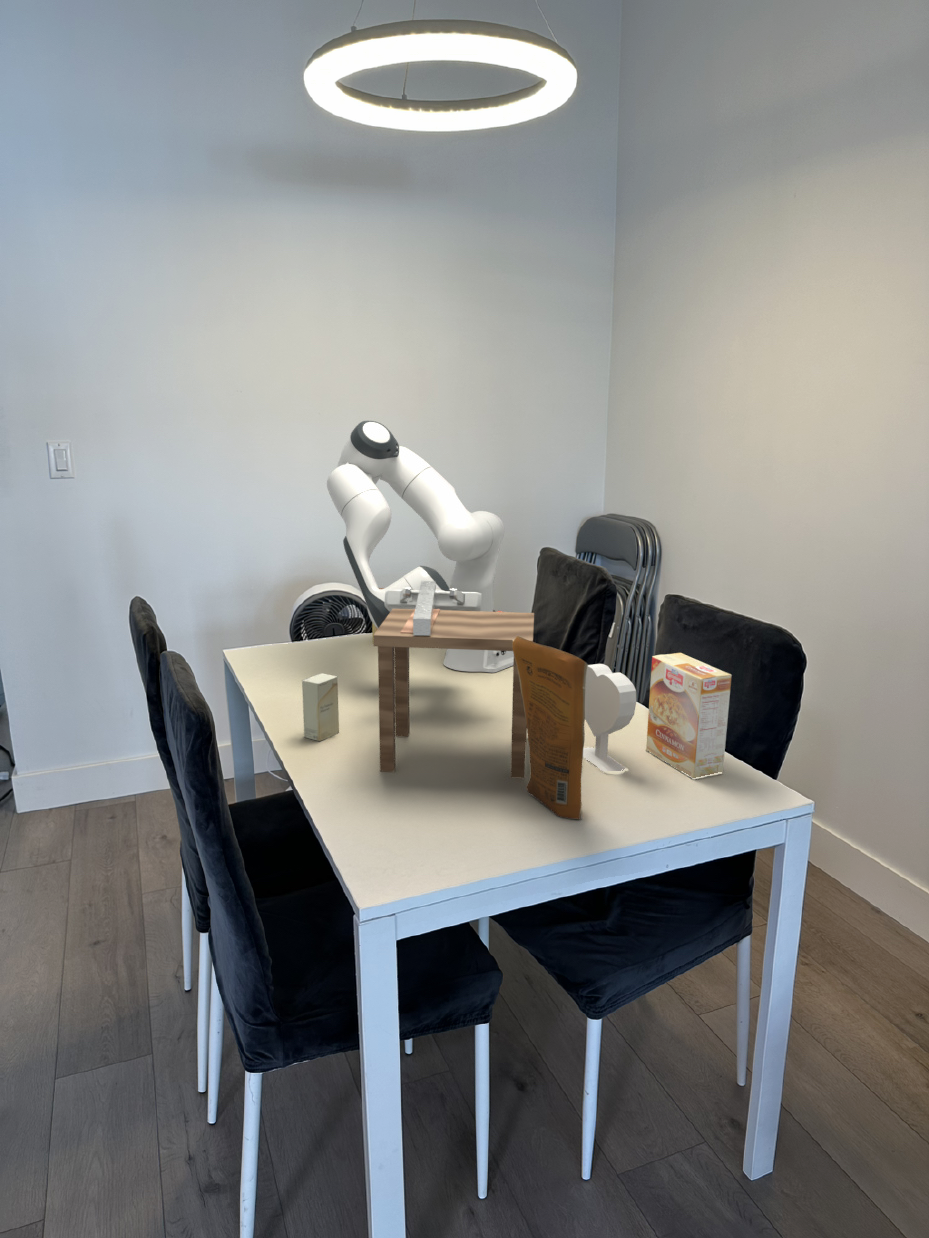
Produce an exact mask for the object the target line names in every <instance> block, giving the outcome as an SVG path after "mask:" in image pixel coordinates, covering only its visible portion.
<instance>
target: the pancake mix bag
mask: <svg viewBox="0 0 929 1238" xmlns="http://www.w3.org/2000/svg"><path fill="white" fill-rule="evenodd" d="M512 648H513V654H514V658H515V661H516V665H517V669H518V675H519V681H520V688H521V694H522V698H523V704H524V711H525V718H526V725H527V741H528V742H527V743H528V748H529V751H528V752H529V753H528V754H529V770H530V771H529V780H528V782H527V785H526V791H527V793H528V794H530V795H531V796H532V797H533V798H535V799H536V800H537V801H538V802H540V803H541V804H542V805H544V806H545V807H546V808H547V809H549V810H550V811H551V812H552V813H553V814H555V815H556V816H557V817H561V818H564V819H571V820H583V819H582V806H583V804H582V802H583V801H582V774H583V771H582V770H583V759H584V758H583V748H584V747H585V741H586V740H585V722H586V720H585V693H586V672H587V666H588V665H589V664H588V663H587V662H586V661H585V660H583V659H582V658H580V657H578V656H576V655H574V654H571V653H569V652H566V651H563V650H561V649H557V648H555V647H552V646H547V645H544V644H540V643H536V642H534V641H533V642H532V641H529V640H527V639H524V638H522V637H519V636H517V637H516V639H515V640H513V641H512Z"/></svg>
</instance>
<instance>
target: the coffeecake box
mask: <svg viewBox="0 0 929 1238" xmlns="http://www.w3.org/2000/svg"><path fill="white" fill-rule="evenodd" d="M651 657H652V658H651V669H650V670H651V673H650V683H649V684H650V685H649V702H648V714H647V715H648V716H647V728H646V729H647V731H646V732H647V733H646V745H645V747H646V748H645V751H646V750H647V751H646V752H648V751H649V752H651V753H652V754H654V755H655V756H654V755H653V756H654V757H656V756H657V757H658V758H657V757H656V758H657V759H659V758H660V759H659V760H660V761H662V760H663V761H662V762H664V761H666V762H667V763H669V764H670V765H672V766H673V767H675V768H677V769H678V770H680V771H683V772H684V773H686V774H688V775H689V776H691V777H692V778H696V777H701V776H705V775H710V774H714V773H718V772H722V771H723V772H724V762H725V754H726V753H725V749H726V741H727V729H728V720H729V719H728V718H729V708H730V695H731V685H732V676H733V675H732V674H731V673H729V672H726V671H724V670H721V669H719V668H717V667H714V666H712V665H710V664H708V663H705V662H703V661H701V660H698V659H696V658H693V657H691V656H689V655H686V654H685V653H682V652H676V653H675V652H674V653H667V654H657V655H652V656H651ZM649 752H648V753H649ZM651 753H650V754H651ZM652 754H651V755H652ZM667 763H666V764H667ZM669 764H668V765H669ZM670 765H669V766H670ZM672 766H671V767H672ZM673 767H672V768H673ZM675 768H674V769H675ZM677 769H676V770H677ZM678 770H677V771H678ZM680 771H679V772H680Z"/></svg>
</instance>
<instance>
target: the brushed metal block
mask: <svg viewBox="0 0 929 1238" xmlns="http://www.w3.org/2000/svg"><path fill="white" fill-rule="evenodd" d="M435 591H436V581H421V585H420V590H419V594H418V599H417V604H416V608H415V613H414V617H413V635H430V634H431V627H432V619H433V611H434V604H435Z"/></svg>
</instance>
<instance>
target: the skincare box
mask: <svg viewBox="0 0 929 1238" xmlns="http://www.w3.org/2000/svg"><path fill="white" fill-rule="evenodd" d="M301 686H302V709H303V710H302V714H303V715H302V716H303V718H302V719H303V737H304V738H307V739H310V740H314V741H318V742H322V741H324V740H326V739H328V738H329V737H332V736H335V735H337V734H339V733H340V718H339V689H338V687H339V684H338V676H337V675H333V674H329V673H323V672H322V673H318V674H316V675H313V676H310V677H308V678H305V679H302V680H301Z"/></svg>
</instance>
